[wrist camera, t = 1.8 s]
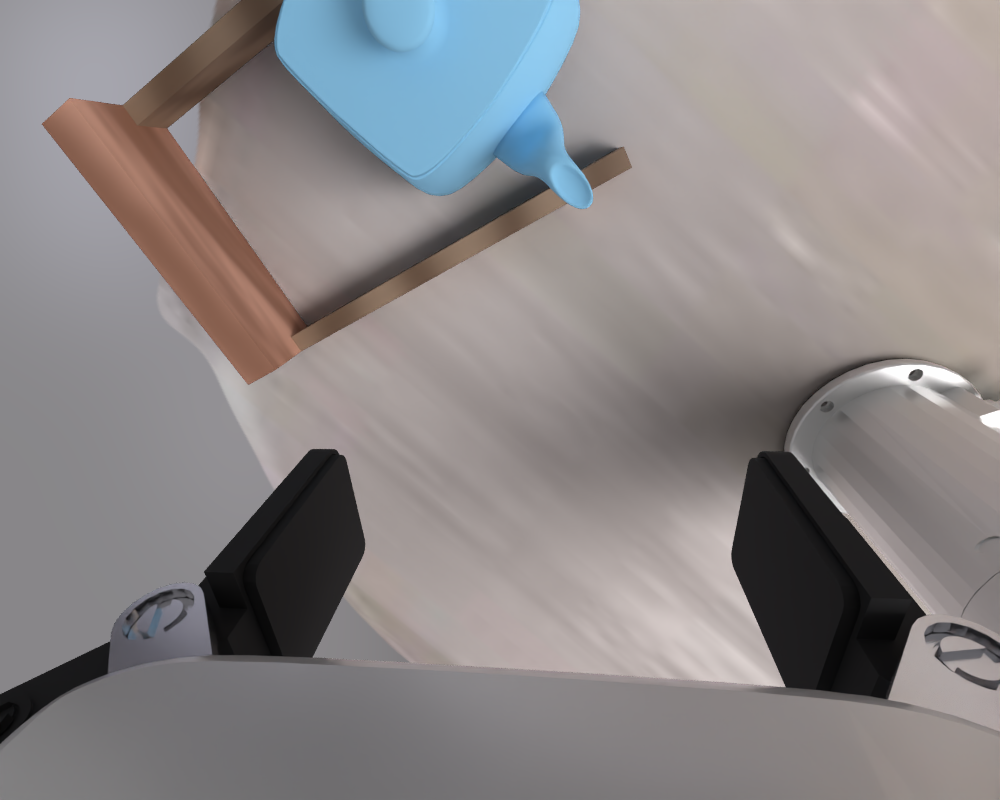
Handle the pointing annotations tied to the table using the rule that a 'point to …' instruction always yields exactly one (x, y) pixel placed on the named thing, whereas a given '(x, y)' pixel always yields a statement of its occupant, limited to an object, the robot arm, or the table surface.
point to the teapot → (440, 83)
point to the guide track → (203, 221)
